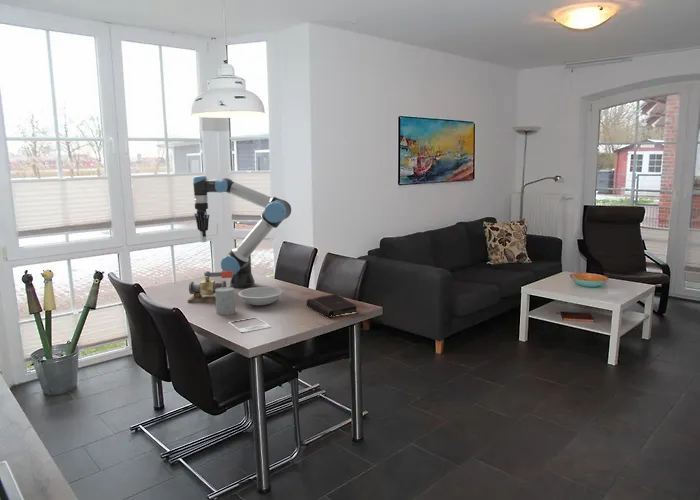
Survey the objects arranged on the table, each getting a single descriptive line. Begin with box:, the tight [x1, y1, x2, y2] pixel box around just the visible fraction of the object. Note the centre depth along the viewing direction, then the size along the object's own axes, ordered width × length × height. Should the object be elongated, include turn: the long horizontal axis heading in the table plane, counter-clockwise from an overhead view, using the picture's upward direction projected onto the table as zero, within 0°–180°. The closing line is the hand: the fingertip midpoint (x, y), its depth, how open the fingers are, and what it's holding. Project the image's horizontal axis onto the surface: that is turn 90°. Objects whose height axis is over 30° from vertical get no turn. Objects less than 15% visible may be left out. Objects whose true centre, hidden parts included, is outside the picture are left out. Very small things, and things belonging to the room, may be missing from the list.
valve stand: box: [187, 276, 227, 304], centre depth 289 cm, size 20×11×13 cm, turn 91°
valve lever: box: [203, 270, 233, 279], centre depth 289 cm, size 3×16×4 cm, turn 95°
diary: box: [306, 293, 359, 319], centre depth 268 cm, size 19×25×5 cm
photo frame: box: [227, 316, 272, 333], centre depth 245 cm, size 15×1×18 cm
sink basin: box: [237, 286, 284, 306], centre depth 281 cm, size 24×24×7 cm
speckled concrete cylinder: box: [214, 286, 236, 316], centre depth 265 cm, size 10×10×12 cm
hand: (203, 241), depth 308 cm, fingers closed
